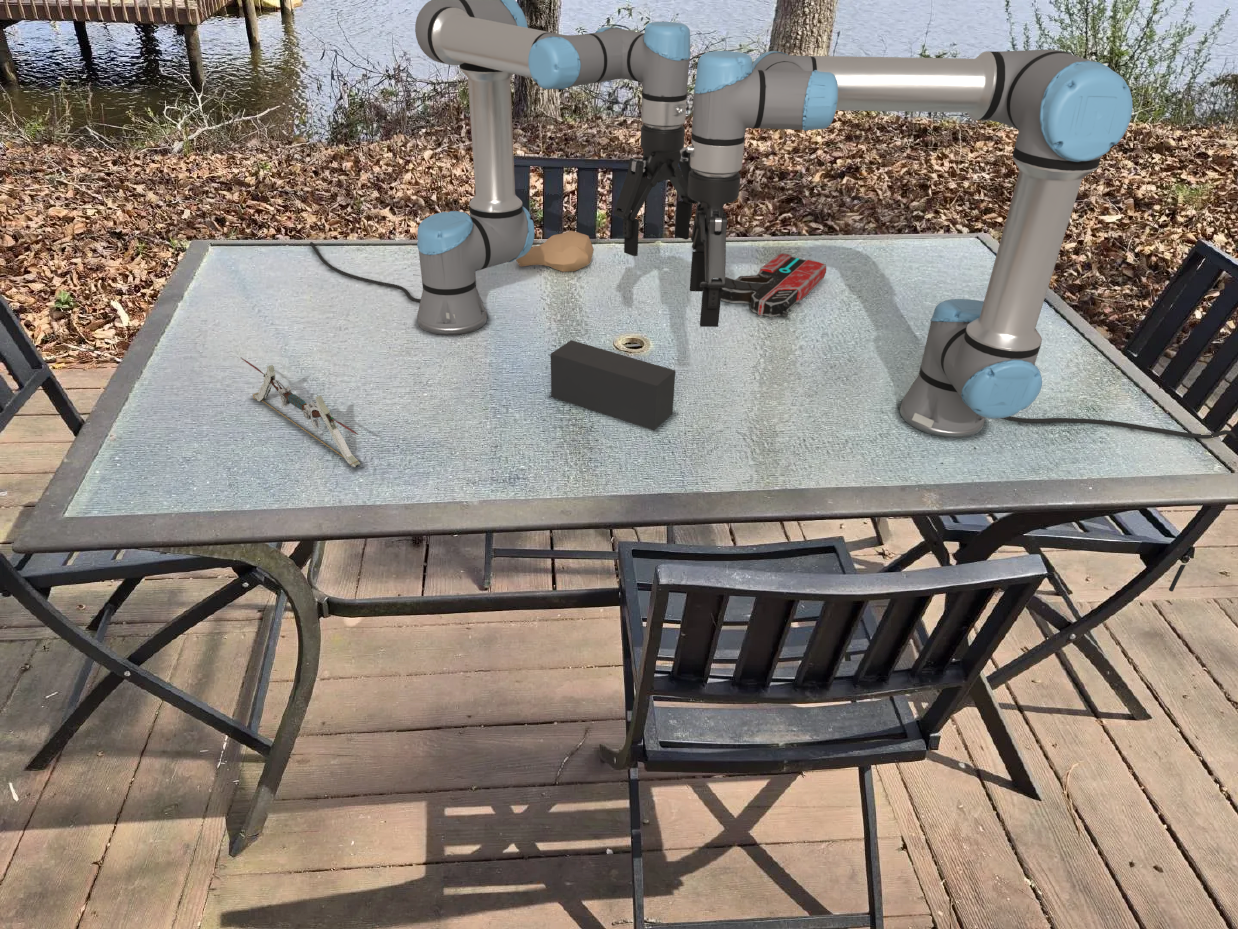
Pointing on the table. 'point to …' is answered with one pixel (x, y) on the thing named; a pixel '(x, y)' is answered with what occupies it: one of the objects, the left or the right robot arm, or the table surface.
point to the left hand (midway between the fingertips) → (657, 245)
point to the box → (612, 384)
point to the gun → (775, 285)
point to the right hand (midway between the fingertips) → (703, 307)
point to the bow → (305, 411)
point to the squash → (561, 252)
